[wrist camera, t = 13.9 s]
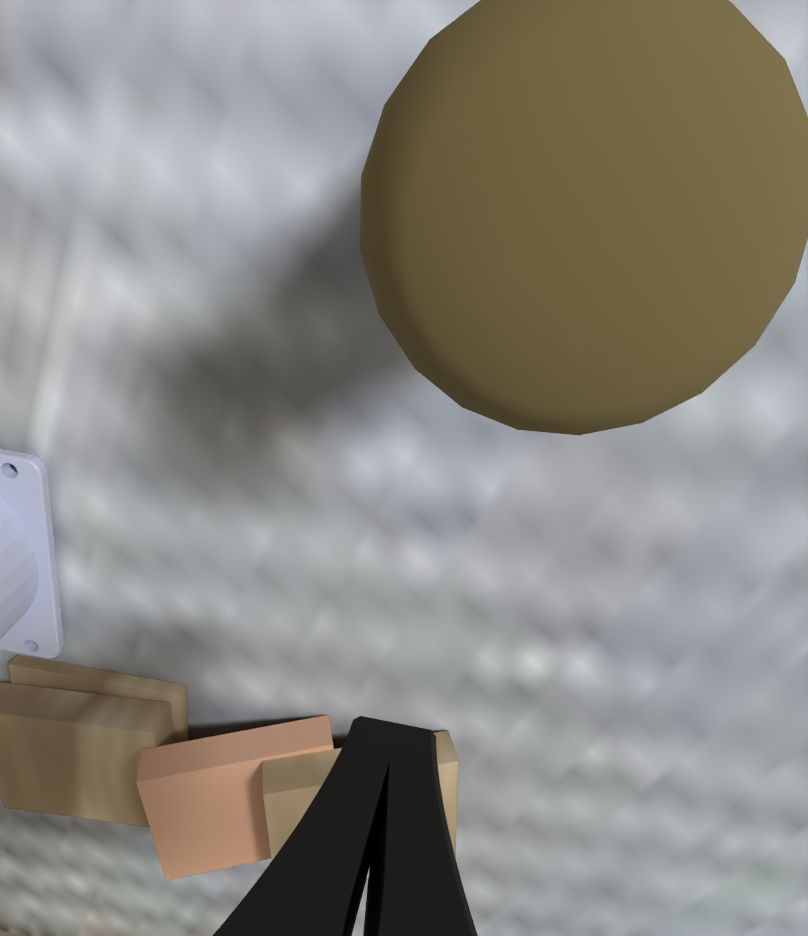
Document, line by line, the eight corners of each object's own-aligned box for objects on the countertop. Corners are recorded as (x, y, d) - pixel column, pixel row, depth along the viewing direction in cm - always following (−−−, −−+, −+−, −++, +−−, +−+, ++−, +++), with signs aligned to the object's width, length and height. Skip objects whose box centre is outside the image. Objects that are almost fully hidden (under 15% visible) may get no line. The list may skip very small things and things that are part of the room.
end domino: (445, 827, 27) (274, 859, 26) (447, 730, 25) (262, 760, 24) (455, 860, 26) (276, 895, 25) (458, 761, 24) (262, 794, 22)
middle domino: (183, 797, 27) (26, 777, 28) (170, 702, 25) (-1, 682, 26) (168, 830, 26) (4, 807, 27) (153, 732, 24) (-26, 710, 25)
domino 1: (198, 761, 29) (45, 733, 29) (196, 668, 26) (30, 638, 27) (184, 790, 27) (25, 761, 28) (181, 694, 25) (7, 664, 25)
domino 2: (340, 810, 27) (169, 846, 26) (328, 714, 25) (142, 749, 24) (345, 842, 26) (166, 881, 25) (333, 744, 24) (136, 782, 23)
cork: (513, 350, 19) (533, 594, 9) (359, 167, 17) (175, 216, 7) (717, 188, 16) (1044, 275, 7) (560, -38, 15) (683, -360, 5)
